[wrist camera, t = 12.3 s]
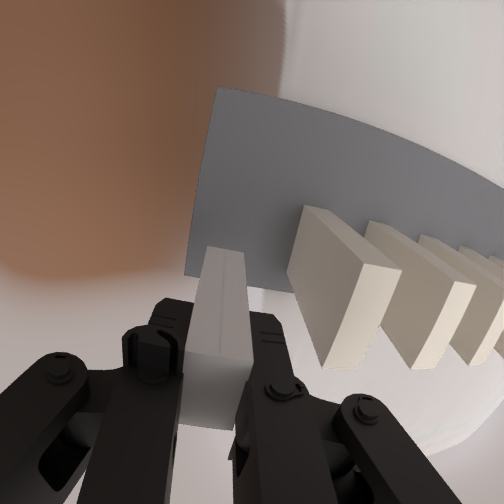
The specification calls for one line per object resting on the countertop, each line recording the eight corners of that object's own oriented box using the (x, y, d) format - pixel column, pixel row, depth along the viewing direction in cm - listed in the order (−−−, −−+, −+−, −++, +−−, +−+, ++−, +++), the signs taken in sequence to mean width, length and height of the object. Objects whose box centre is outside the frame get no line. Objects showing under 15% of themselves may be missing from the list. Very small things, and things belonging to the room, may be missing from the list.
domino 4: (460, 245, 22) (538, 297, 12) (471, 249, 22) (547, 299, 12) (440, 296, 23) (505, 360, 14) (452, 298, 23) (516, 359, 14)
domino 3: (420, 234, 21) (507, 291, 12) (436, 238, 21) (520, 294, 12) (400, 290, 23) (468, 365, 13) (415, 292, 23) (483, 363, 14)
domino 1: (304, 204, 20) (363, 263, 10) (328, 210, 20) (402, 270, 11) (286, 272, 21) (321, 368, 12) (310, 276, 22) (357, 369, 12)
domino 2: (369, 219, 20) (454, 281, 11) (389, 225, 21) (476, 285, 11) (349, 282, 22) (410, 369, 13) (368, 285, 22) (433, 368, 13)
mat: (217, 87, 17) (217, 86, 17) (533, 209, 21) (536, 210, 21) (184, 272, 21) (184, 275, 21) (495, 314, 26) (497, 316, 25)
